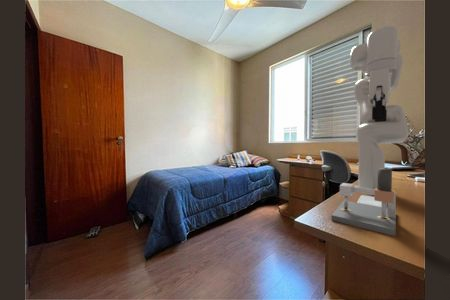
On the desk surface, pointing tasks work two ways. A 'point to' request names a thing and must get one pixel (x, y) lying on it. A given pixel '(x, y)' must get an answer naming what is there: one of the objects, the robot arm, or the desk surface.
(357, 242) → the desk surface
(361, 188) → the light grey bracket
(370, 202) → the hard drive
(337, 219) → the bolt plate
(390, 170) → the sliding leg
